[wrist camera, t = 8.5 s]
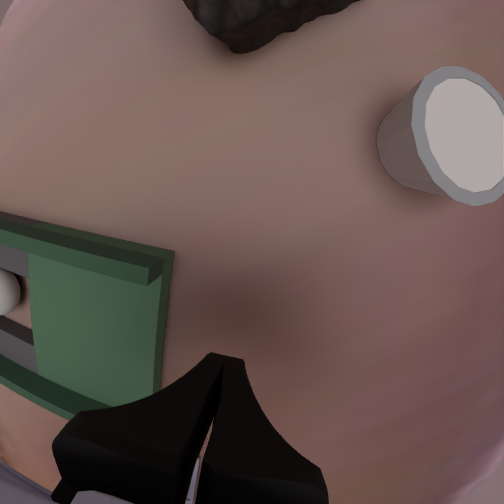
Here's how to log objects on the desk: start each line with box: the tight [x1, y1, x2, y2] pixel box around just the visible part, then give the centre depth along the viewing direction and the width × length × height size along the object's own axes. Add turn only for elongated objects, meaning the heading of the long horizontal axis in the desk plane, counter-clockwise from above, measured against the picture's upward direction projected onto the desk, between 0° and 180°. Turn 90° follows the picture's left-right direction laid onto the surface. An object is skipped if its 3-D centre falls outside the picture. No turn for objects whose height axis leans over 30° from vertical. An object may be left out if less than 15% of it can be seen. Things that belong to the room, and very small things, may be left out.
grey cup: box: [376, 66, 504, 206], centre depth 15 cm, size 7×7×7 cm
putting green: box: [0, 212, 174, 420], centre depth 17 cm, size 16×20×10 cm
